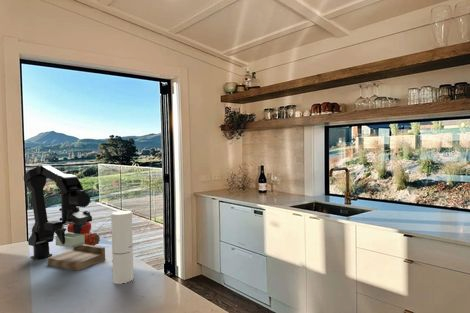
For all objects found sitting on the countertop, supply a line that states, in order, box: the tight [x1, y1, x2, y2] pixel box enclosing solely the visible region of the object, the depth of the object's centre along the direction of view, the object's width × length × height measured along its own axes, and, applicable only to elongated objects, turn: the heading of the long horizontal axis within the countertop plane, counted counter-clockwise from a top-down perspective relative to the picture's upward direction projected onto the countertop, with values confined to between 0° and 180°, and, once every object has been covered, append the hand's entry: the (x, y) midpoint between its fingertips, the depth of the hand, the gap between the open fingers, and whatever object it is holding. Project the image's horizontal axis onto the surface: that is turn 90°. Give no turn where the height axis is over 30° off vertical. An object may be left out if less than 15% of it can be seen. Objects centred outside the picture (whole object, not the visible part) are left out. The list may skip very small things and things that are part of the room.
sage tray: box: [55, 231, 85, 249], centre depth 135 cm, size 10×6×4 cm, turn 66°
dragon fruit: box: [84, 231, 101, 246], centre depth 157 cm, size 8×8×12 cm
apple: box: [66, 222, 92, 234], centre depth 168 cm, size 11×11×12 cm
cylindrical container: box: [110, 210, 134, 285], centre depth 117 cm, size 7×7×25 cm
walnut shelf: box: [47, 244, 106, 272], centre depth 138 cm, size 18×14×6 cm
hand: (70, 242), depth 135 cm, fingers closed on sage tray, 6 cm apart
